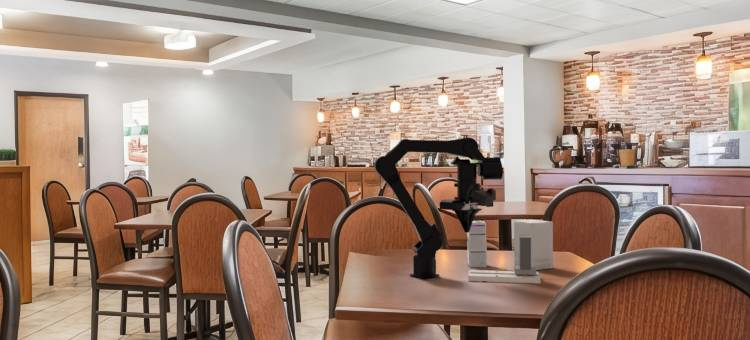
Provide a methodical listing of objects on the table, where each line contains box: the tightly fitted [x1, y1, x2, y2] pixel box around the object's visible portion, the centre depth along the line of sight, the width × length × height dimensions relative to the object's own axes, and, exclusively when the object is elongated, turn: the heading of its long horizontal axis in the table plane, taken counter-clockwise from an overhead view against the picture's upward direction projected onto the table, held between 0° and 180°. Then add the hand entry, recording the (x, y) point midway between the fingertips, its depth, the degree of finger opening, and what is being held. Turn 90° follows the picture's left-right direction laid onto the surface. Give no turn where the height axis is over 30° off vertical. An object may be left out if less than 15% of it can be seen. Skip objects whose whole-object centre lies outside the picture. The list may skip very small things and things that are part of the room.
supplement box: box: [513, 219, 554, 271], centre depth 190 cm, size 9×9×15 cm
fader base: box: [467, 269, 542, 284], centre depth 172 cm, size 20×9×2 cm, turn 79°
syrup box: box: [466, 220, 488, 268], centre depth 193 cm, size 6×6×14 cm
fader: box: [513, 235, 537, 275], centre depth 170 cm, size 6×6×11 cm
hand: (467, 232), depth 177 cm, fingers closed
